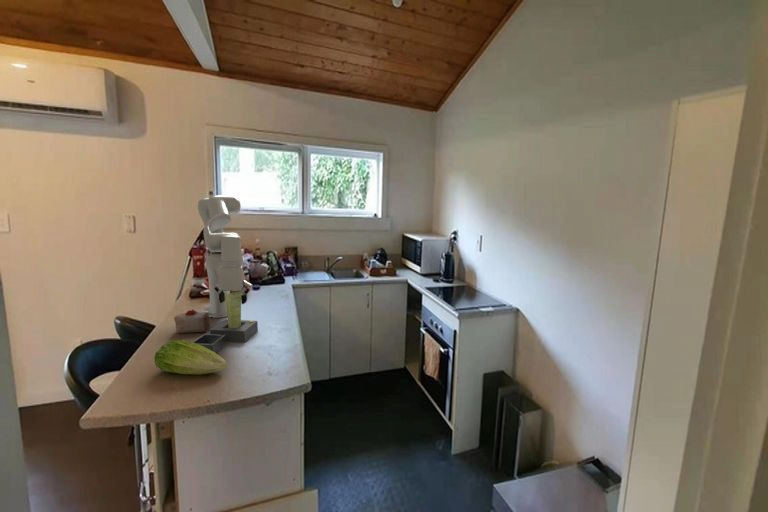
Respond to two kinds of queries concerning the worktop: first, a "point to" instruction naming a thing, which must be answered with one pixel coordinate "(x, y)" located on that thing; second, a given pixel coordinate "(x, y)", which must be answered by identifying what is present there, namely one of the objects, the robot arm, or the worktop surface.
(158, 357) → the lettuce
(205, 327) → the food item
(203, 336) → the gray square frame
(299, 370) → the worktop surface
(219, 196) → the robot arm
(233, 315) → the tube
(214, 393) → the worktop surface
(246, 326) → the port block
